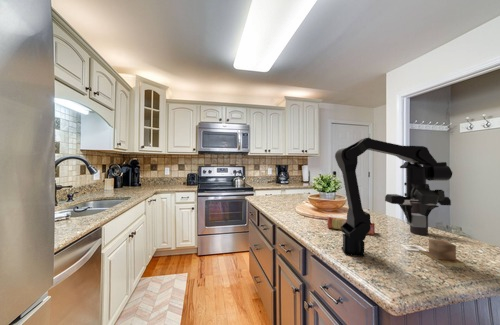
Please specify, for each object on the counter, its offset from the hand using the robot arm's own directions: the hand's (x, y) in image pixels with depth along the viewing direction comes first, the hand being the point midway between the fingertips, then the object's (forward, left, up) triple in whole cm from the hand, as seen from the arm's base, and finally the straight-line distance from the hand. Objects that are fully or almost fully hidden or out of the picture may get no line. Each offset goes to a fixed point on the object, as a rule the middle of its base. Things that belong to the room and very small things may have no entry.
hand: (416, 222), depth 75 cm
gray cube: (0, 0, -1) cm, 1 cm away
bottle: (+16, +28, -12) cm, 35 cm away
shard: (+6, -3, -13) cm, 14 cm away
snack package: (-16, +25, -12) cm, 32 cm away
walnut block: (+7, -2, -11) cm, 13 cm away
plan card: (+2, +6, -12) cm, 14 cm away
